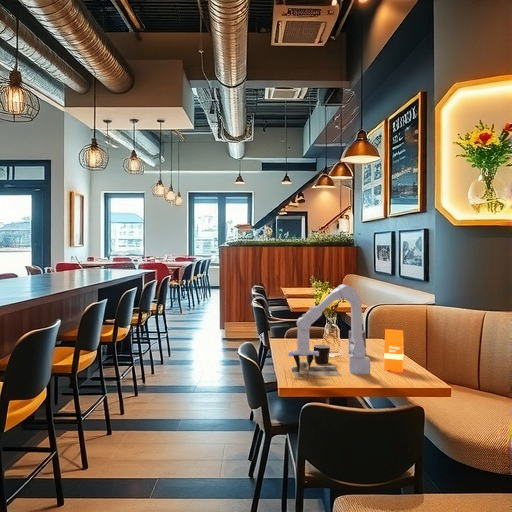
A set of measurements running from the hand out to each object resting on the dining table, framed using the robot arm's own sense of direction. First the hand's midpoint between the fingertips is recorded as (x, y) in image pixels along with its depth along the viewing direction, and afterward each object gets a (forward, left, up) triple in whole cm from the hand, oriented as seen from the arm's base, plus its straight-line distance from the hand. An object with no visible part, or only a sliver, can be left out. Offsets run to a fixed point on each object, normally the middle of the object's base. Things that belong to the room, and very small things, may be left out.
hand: (303, 371), depth 217 cm
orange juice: (-48, -10, -3) cm, 49 cm away
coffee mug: (-12, -19, -3) cm, 22 cm away
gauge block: (0, 0, -1) cm, 1 cm away
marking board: (-6, 0, -2) cm, 6 cm away
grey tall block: (-39, -43, -3) cm, 58 cm away
